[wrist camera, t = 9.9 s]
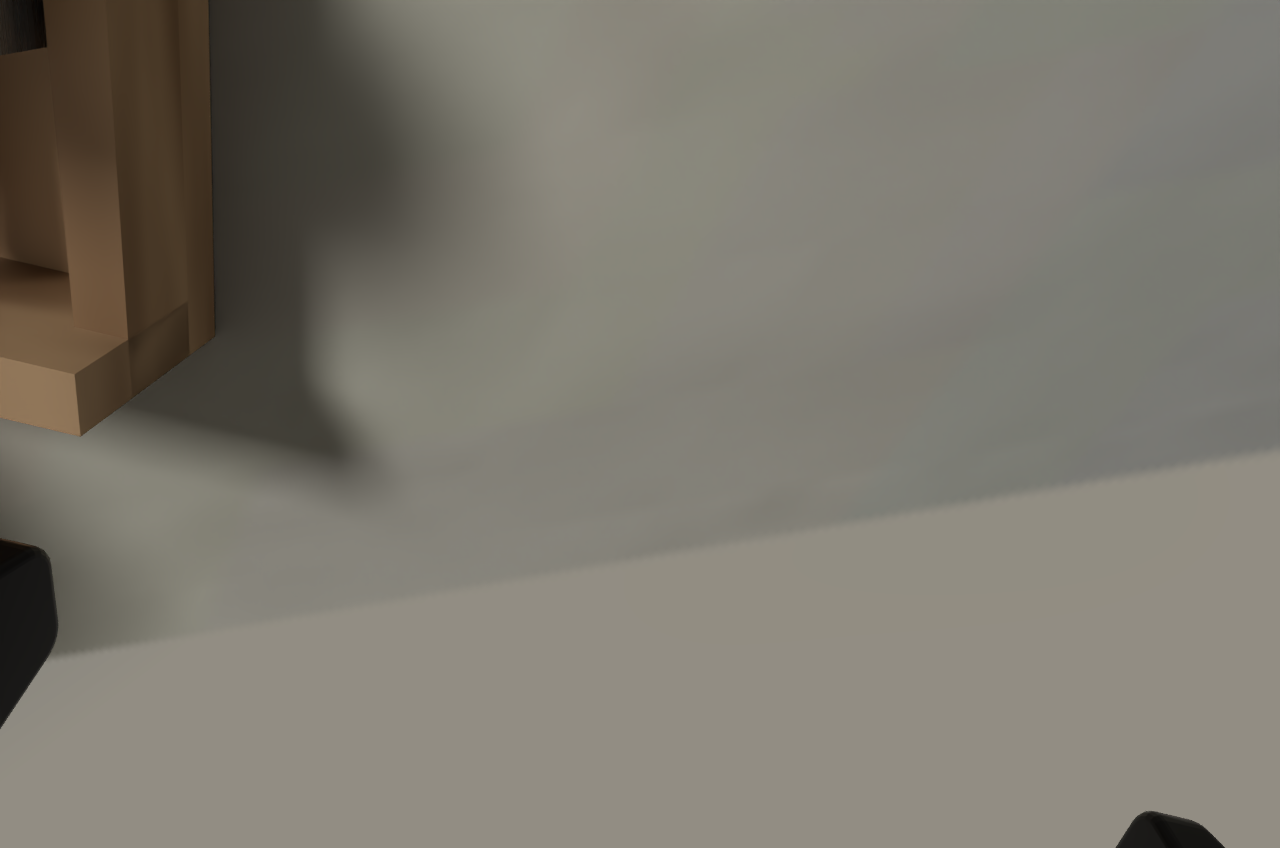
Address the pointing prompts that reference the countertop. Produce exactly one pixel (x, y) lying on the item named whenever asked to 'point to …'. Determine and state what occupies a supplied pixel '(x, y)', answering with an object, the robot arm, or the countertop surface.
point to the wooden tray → (104, 208)
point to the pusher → (22, 26)
